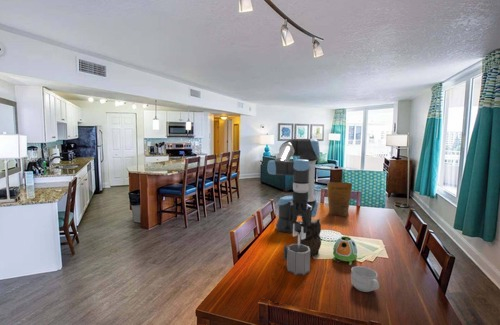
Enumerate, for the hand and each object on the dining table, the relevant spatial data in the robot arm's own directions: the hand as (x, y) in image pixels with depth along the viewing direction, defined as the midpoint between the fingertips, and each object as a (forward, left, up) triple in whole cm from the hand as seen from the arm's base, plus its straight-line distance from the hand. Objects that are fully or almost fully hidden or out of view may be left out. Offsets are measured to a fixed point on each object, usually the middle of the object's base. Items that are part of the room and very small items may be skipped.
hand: (299, 237), depth 136 cm
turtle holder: (+10, +29, -17) cm, 35 cm away
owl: (-8, +20, -17) cm, 27 cm away
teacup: (+31, +7, -17) cm, 36 cm away
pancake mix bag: (-32, +98, -17) cm, 104 cm away
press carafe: (-2, 0, -17) cm, 17 cm away
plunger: (0, 0, -12) cm, 12 cm away
